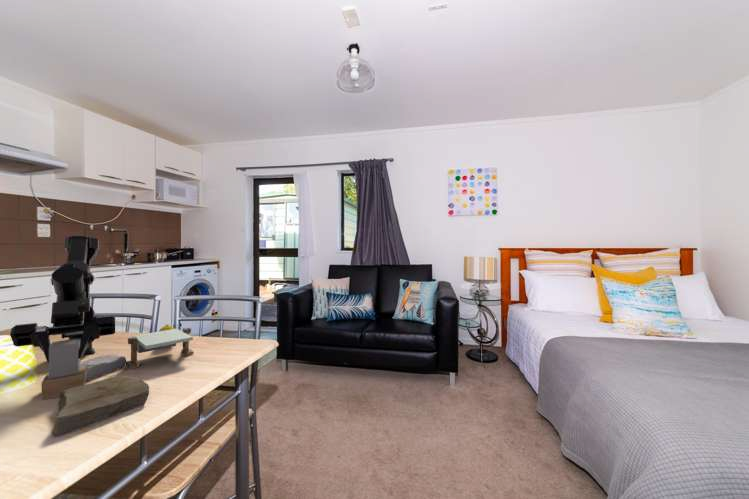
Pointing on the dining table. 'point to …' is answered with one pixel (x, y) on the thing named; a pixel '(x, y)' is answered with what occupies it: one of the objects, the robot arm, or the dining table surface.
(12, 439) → the dining table surface
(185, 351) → the trapdoor frame
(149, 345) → the trapdoor
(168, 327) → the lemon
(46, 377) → the plinth
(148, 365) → the dining table surface
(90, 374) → the stone block
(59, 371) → the grey block
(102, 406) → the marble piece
